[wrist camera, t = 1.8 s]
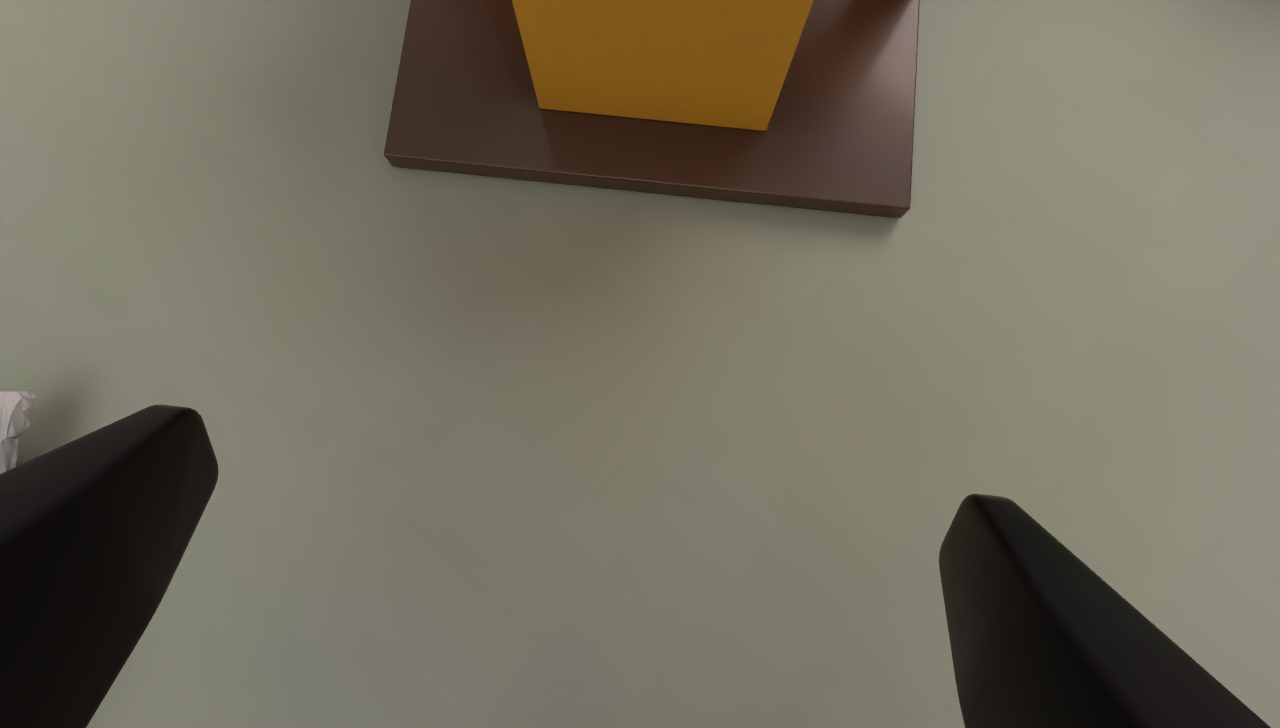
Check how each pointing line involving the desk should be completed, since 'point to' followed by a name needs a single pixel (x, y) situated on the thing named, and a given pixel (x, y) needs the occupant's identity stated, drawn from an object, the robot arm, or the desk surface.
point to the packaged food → (13, 424)
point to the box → (662, 57)
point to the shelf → (662, 150)
